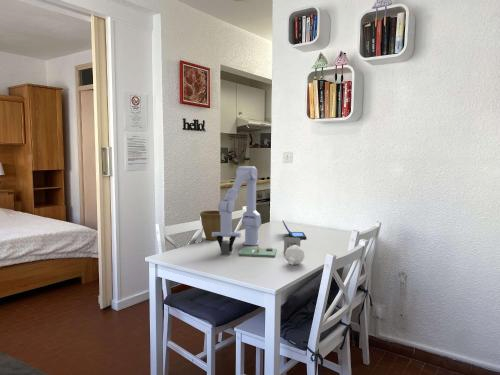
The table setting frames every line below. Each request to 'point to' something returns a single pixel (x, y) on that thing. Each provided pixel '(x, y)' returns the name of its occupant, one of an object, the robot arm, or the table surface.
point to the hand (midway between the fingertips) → (226, 250)
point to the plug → (225, 247)
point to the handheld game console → (295, 233)
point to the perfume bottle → (294, 254)
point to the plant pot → (210, 223)
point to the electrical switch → (291, 242)
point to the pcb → (258, 252)
